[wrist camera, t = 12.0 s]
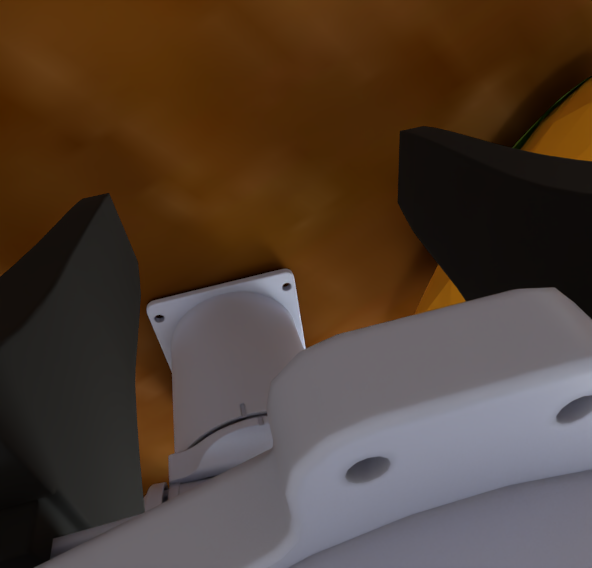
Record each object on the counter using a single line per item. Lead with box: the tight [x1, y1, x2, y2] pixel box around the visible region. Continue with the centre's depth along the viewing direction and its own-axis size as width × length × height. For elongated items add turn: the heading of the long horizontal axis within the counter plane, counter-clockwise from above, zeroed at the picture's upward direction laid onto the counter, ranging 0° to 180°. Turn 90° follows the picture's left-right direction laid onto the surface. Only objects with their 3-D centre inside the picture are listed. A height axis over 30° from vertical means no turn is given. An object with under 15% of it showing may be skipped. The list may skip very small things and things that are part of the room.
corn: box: [414, 76, 592, 315], centre depth 24 cm, size 7×8×20 cm
